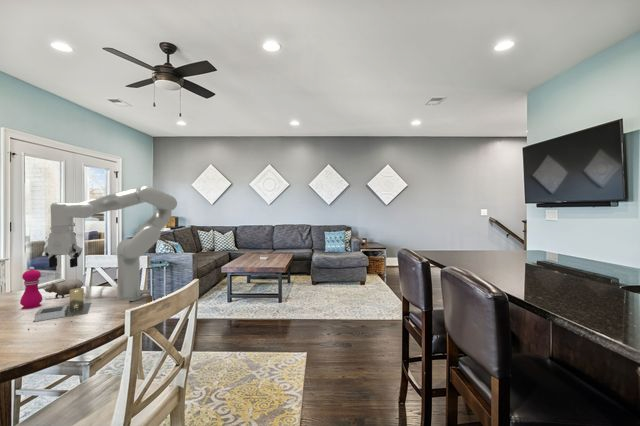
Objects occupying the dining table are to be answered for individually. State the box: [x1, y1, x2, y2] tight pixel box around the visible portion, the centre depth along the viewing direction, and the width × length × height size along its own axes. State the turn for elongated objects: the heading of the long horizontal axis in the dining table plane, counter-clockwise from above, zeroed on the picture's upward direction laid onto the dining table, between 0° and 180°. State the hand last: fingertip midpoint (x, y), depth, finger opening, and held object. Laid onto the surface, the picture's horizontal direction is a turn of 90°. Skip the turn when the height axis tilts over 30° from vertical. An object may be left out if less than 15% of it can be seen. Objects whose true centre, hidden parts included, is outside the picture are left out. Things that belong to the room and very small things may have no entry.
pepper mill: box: [19, 266, 43, 310], centre depth 130 cm, size 7×7×20 cm
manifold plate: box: [32, 302, 92, 323], centre depth 124 cm, size 17×18×4 cm
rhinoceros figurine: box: [42, 278, 86, 300], centre depth 148 cm, size 8×14×15 cm
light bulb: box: [69, 287, 85, 309], centre depth 130 cm, size 5×5×8 cm
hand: (63, 266), depth 129 cm, fingers open, 9 cm apart
